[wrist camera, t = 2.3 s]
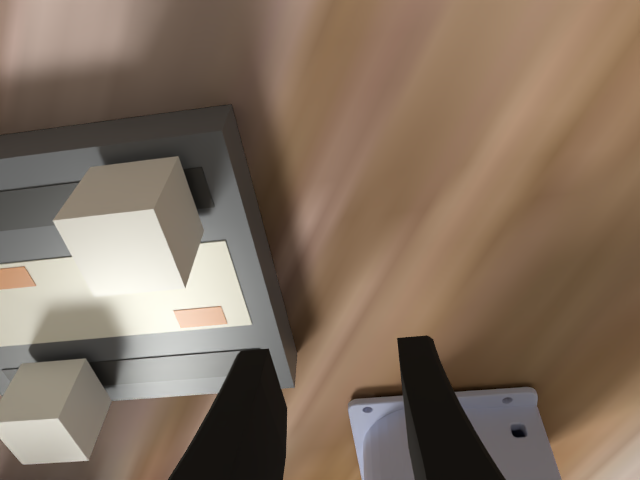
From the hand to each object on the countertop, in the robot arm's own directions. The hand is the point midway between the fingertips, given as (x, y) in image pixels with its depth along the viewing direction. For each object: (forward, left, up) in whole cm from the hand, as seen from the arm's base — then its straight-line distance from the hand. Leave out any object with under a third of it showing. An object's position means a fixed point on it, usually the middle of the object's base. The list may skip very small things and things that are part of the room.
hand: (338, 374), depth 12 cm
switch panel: (+11, +4, -10) cm, 15 cm away
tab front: (+7, 0, -8) cm, 10 cm away
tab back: (+13, +9, -8) cm, 18 cm away
